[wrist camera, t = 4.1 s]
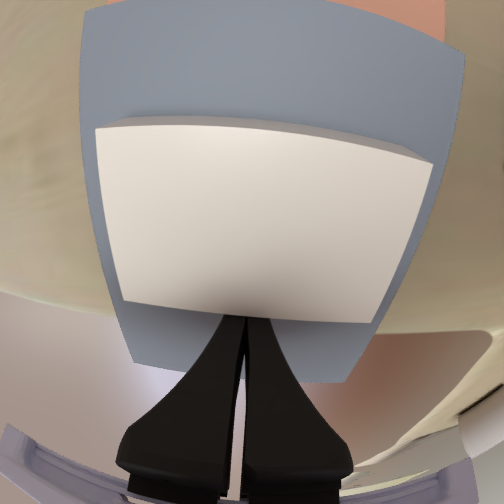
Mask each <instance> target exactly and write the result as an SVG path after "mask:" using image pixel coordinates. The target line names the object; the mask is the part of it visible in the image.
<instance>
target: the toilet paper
mask: <svg viewBox="0 0 504 504" xmlns="http://www.w3.org/2000/svg"><path fill="white" fill-rule="evenodd" d="M458 423H459V430H460V435H461V438H462V442H463V444H464V447H465V449H466V451H467V453H468V455H469V456H470V457H471V458H474V457H476V456H478V455H480V454H481V453H483V452H485V451H487V450H488V449H490V448H492V447H493V446H495V445H496V444H498V443H500V442H501V441H503V440H504V385H503V386H502V387H500V388H499V389H498V390H496V391H495V392H494V393H492V394H491V395H490V396H488V397H487V398H485V399H484V400H483V401H481V402H480V403H478V404H477V405H475V406H474V407H472V408H471V409H469V410H468V411H466V412H464V413H463V414H461V415H460V416H459V419H458Z"/></svg>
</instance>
